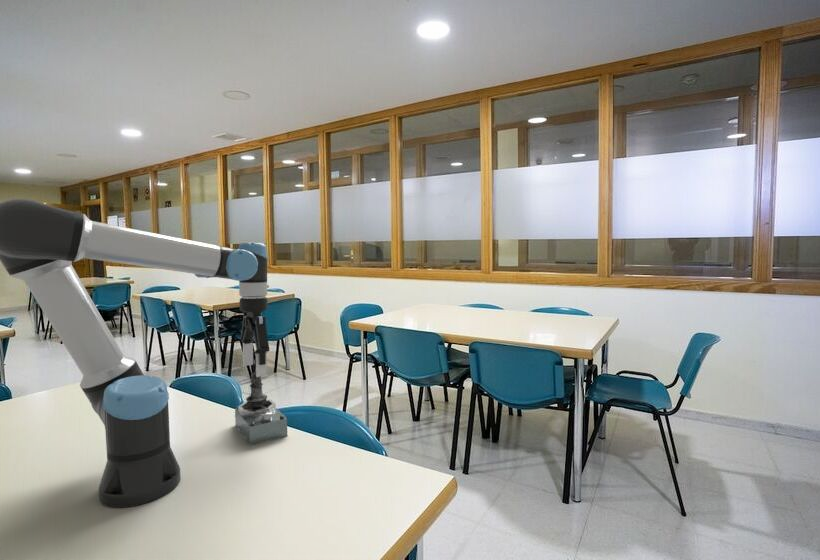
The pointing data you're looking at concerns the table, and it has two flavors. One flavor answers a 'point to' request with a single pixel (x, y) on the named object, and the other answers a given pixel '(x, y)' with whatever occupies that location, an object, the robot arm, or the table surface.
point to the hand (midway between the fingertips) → (254, 370)
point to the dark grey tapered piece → (256, 394)
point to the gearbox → (260, 423)
